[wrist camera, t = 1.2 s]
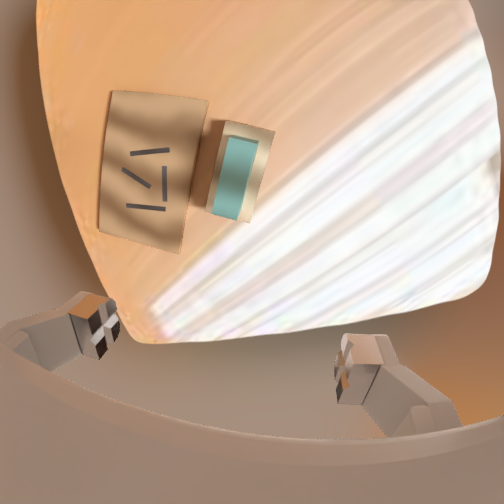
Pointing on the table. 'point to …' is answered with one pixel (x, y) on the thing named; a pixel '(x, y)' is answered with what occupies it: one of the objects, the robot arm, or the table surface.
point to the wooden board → (149, 166)
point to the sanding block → (238, 170)
